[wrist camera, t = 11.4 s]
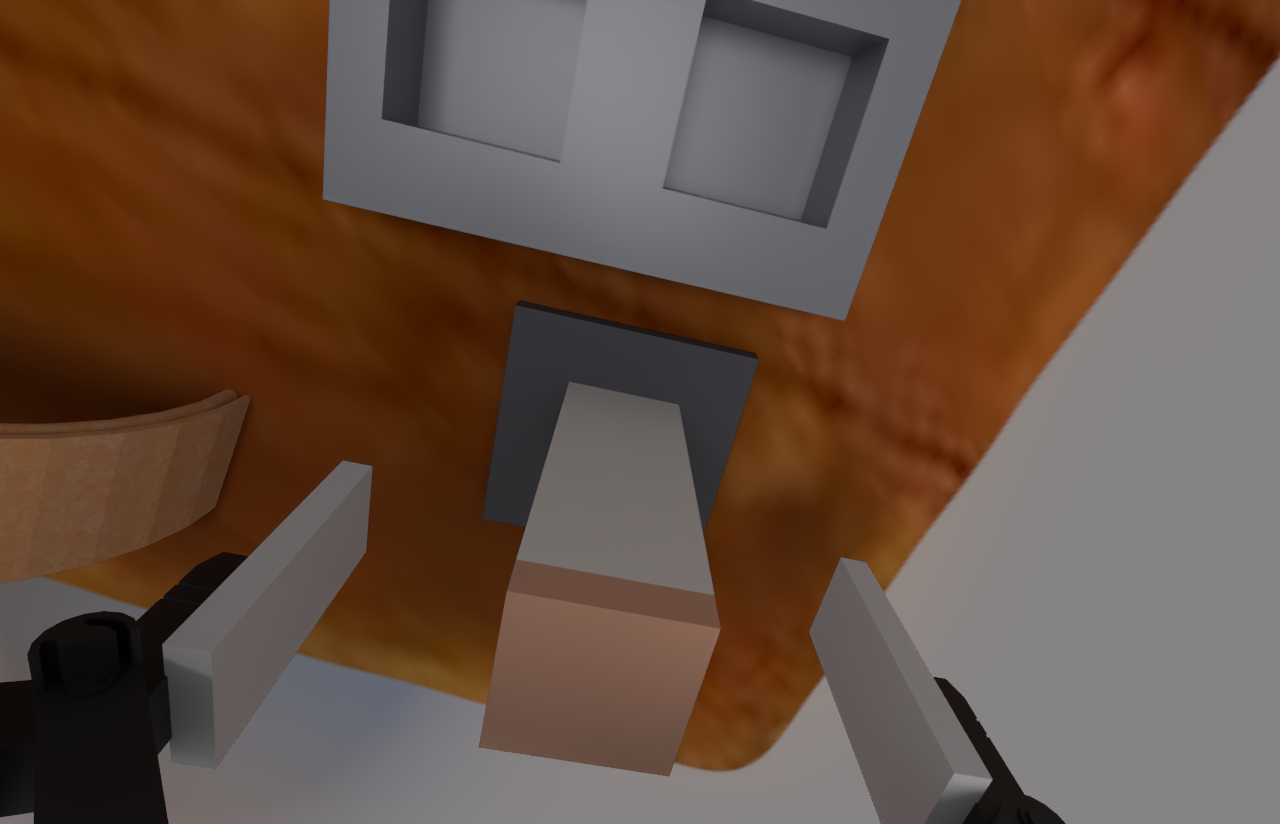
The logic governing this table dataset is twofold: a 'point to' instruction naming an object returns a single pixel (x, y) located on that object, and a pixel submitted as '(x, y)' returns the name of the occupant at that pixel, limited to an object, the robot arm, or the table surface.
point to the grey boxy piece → (639, 129)
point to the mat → (621, 362)
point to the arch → (110, 483)
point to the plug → (606, 594)
